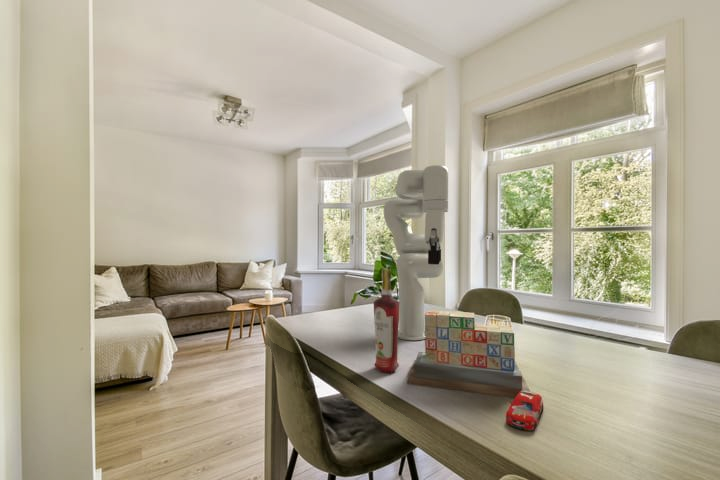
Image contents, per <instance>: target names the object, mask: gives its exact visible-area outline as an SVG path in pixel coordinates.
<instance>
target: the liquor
mask: <svg viewBox="0 0 720 480" xmlns="http://www.w3.org/2000/svg"><path fill="white" fill-rule="evenodd" d="M391 278H392V269H385V268H383V269H381V280H382V283H381V284H382V285H381V296H380V297H378V298H377V299H375V300H374V301H373V320H374V337H375V339H374V341H375V342H374V343H375V363H374V364H373V365H374V367H375V368H376V369H377V370H378V371H379V372H381V373H384V374H385V373H387V374H389V373H390V374H391V373H394V372H395V371H396V370H397V369H398V368H399V366H400V364H399V362H398V352H399V351H398V345H399V338H398V330H399V305H400V302H399V299H397V298H395V297H393V296H392V295H393V294H392V286H391V283H392V282H391V280H392V279H391Z"/></svg>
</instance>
